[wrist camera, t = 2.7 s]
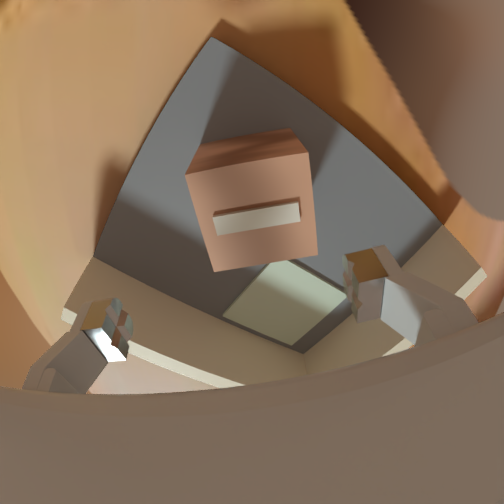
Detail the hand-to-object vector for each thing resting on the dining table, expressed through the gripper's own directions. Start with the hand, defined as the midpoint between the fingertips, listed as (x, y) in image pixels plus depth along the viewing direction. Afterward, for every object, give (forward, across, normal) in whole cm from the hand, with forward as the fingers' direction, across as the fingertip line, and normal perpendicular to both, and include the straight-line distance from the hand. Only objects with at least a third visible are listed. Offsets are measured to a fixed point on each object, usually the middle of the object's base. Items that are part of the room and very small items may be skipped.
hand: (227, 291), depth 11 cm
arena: (+12, -2, +6) cm, 13 cm away
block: (+10, -1, 0) cm, 10 cm away
